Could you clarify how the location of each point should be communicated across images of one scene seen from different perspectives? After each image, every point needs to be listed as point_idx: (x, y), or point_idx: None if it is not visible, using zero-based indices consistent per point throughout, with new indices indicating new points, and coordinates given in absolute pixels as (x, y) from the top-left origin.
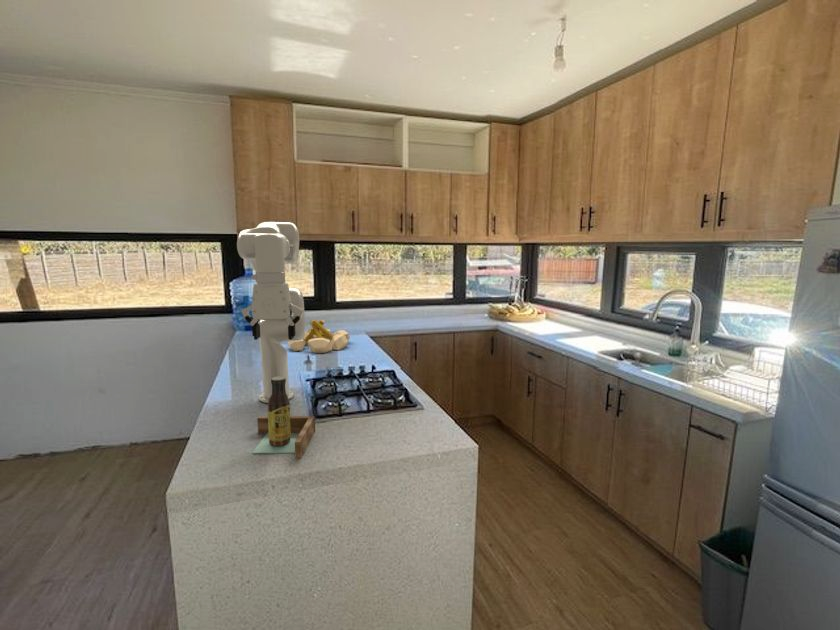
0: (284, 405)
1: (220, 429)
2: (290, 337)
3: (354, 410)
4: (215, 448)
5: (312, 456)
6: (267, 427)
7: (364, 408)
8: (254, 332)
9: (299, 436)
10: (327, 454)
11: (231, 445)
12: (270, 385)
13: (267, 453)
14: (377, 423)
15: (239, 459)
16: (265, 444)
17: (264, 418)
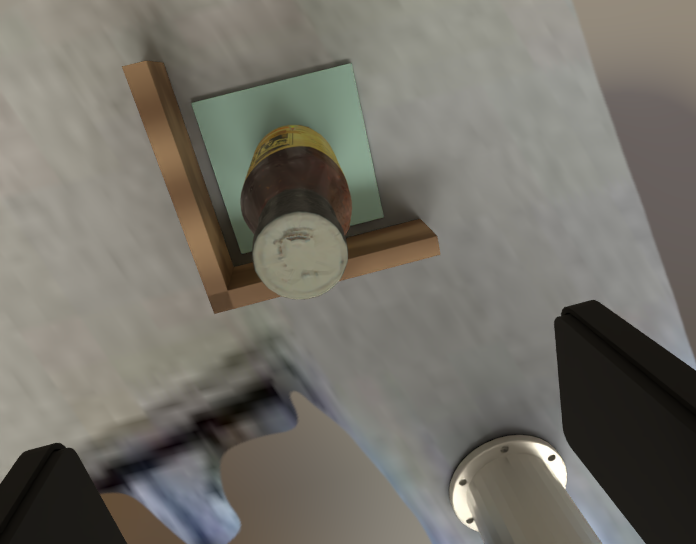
0: (246, 181)
1: (571, 213)
2: (13, 468)
3: (172, 468)
4: (509, 71)
5: (109, 95)
6: (390, 234)
7: (144, 492)
8: (656, 358)
9: (157, 115)
10: (61, 124)
11: (464, 107)
12: (534, 495)
13: (294, 77)
14: (23, 400)
15: (372, 9)
16: (339, 136)
17: (408, 243)
